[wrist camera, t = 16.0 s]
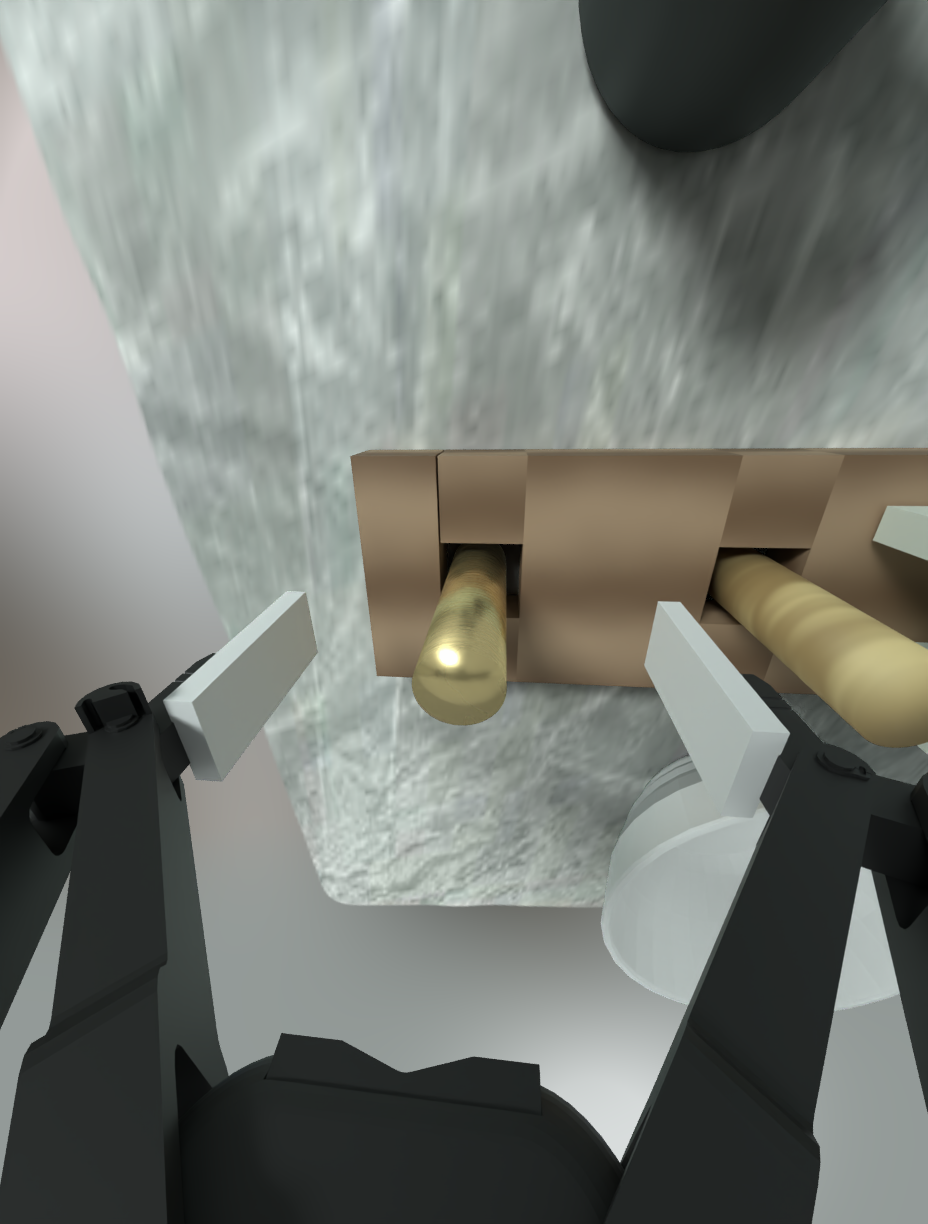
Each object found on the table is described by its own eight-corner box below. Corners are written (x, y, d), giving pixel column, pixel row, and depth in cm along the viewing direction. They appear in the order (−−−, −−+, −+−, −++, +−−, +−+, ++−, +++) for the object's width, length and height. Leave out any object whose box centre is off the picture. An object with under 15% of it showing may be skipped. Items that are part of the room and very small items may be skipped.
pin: (453, 536, 24) (408, 645, 13) (507, 537, 23) (508, 649, 13) (454, 586, 25) (414, 723, 14) (505, 587, 25) (504, 727, 14)
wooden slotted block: (369, 449, 22) (238, 492, 11) (1008, 447, 19) (1629, 499, 9) (389, 649, 27) (314, 807, 16) (894, 667, 25) (1194, 869, 14)
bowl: (607, 899, 36) (633, 1024, 29) (550, 728, 29) (565, 839, 22) (867, 870, 32) (974, 1008, 25) (878, 661, 25) (1038, 771, 17)
